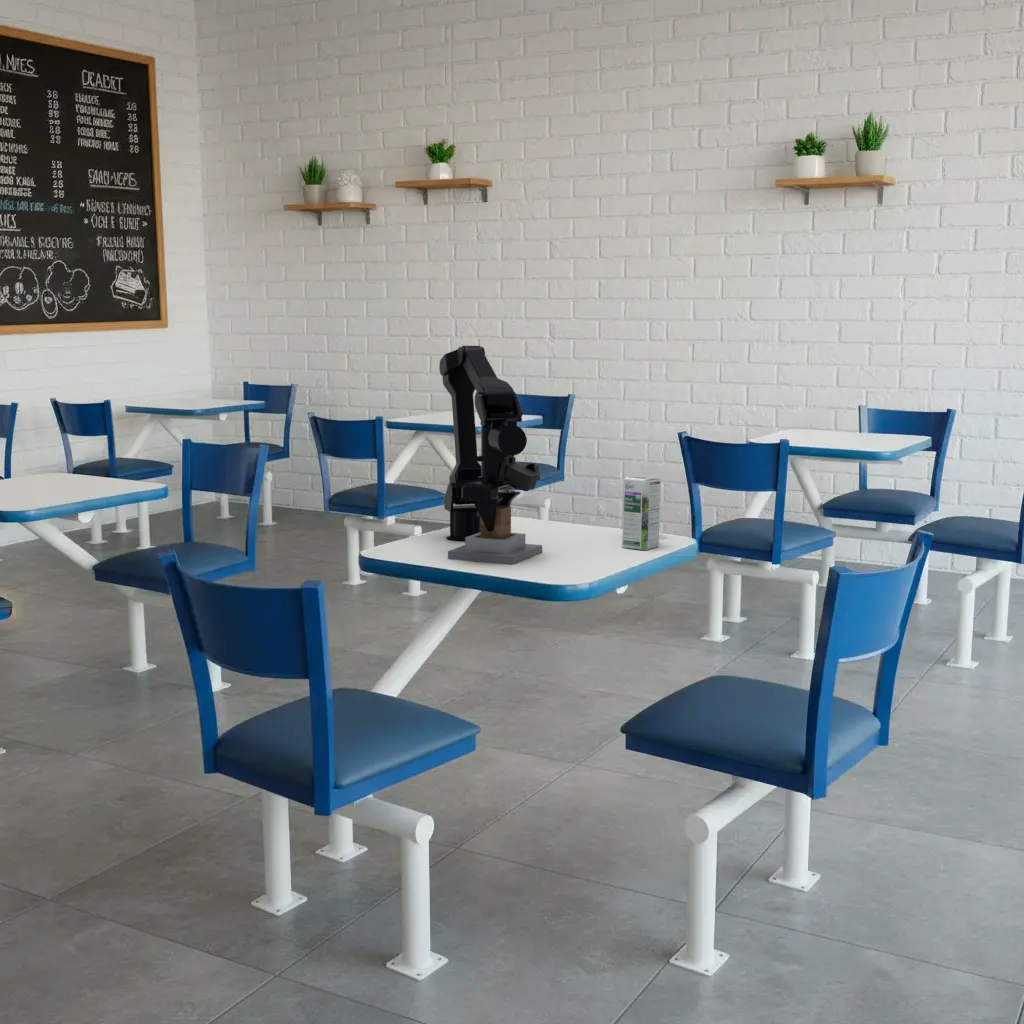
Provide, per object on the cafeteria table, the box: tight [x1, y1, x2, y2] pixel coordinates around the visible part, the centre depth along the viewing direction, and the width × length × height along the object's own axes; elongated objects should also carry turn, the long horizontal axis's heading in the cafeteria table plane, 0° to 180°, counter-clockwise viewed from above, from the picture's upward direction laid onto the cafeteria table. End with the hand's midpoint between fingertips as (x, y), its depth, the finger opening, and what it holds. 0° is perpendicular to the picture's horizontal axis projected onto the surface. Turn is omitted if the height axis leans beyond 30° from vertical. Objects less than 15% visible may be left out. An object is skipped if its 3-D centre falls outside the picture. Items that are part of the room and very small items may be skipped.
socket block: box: [447, 532, 543, 565], centre depth 240 cm, size 14×14×4 cm
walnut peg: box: [481, 505, 512, 539], centre depth 240 cm, size 4×4×7 cm
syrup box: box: [621, 475, 661, 551], centre depth 249 cm, size 6×6×14 cm
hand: (495, 529), depth 240 cm, fingers closed on walnut peg, 4 cm apart
